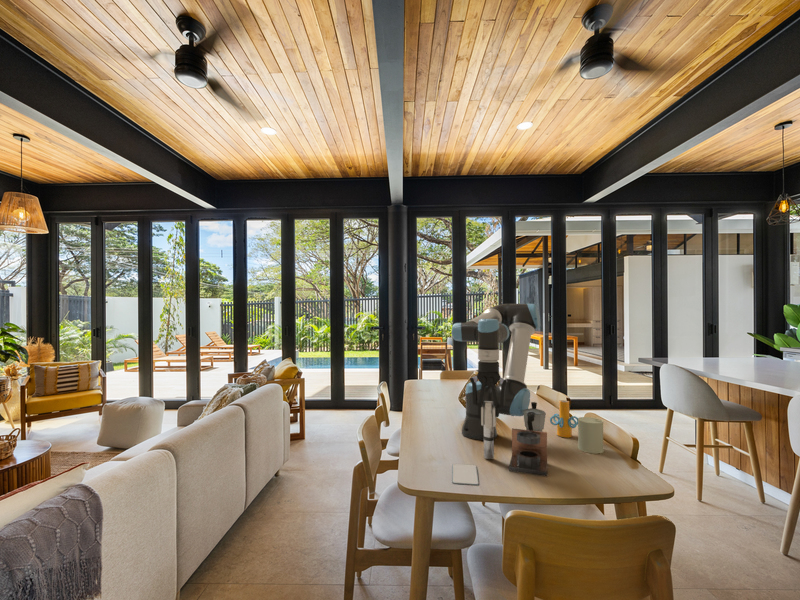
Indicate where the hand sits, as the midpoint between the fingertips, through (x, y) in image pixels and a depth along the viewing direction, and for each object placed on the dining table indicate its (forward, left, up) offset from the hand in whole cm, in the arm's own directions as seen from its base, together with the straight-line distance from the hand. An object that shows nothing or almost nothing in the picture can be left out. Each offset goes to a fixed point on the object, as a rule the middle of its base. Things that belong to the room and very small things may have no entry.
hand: (488, 424), depth 142 cm
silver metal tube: (0, 0, -12) cm, 12 cm away
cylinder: (+27, +41, -13) cm, 50 cm away
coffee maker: (+15, +18, -13) cm, 26 cm away
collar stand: (+14, -2, -12) cm, 19 cm away
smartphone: (-5, -17, -13) cm, 22 cm away
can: (+36, +26, -13) cm, 46 cm away
